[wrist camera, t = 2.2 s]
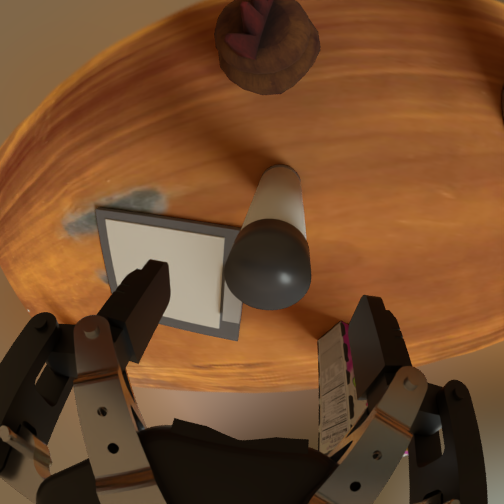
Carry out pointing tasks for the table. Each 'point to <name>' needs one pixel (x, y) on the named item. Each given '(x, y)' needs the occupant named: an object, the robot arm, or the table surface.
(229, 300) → the clipboard
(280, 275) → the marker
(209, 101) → the table surface
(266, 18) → the wooden figurine
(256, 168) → the table surface
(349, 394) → the candy bar box
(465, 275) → the table surface
